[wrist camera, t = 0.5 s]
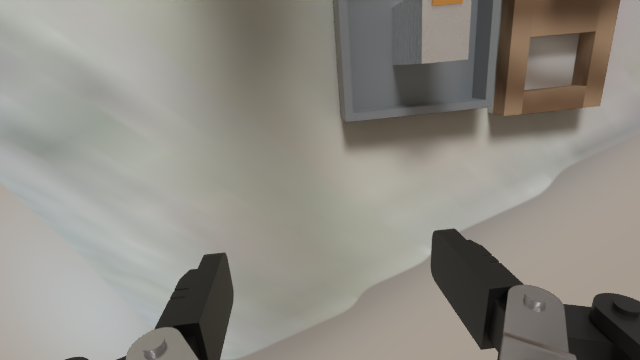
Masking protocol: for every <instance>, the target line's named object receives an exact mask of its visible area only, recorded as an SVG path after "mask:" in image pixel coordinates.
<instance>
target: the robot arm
mask: <svg viewBox="0 0 640 360" xmlns="http://www.w3.org/2000/svg"><path fill="white" fill-rule="evenodd" d="M431 272H432V276H433V278H434V280H435V282H436V283H437V285H438V287H439V288H440V290H441V291H442V292H443V294H444V295H445V297H446V298H447V300H448V301H449V303H450V304H451V306H452V307H453V309H454V310H455V312H456V313H457V315H458V316H459V317H460V319H461V321H462V322H463V324H464V325H465V327H466V328H467V330H468V331H469V332H470V334H471V335H472V337H473V338H474V340H475V341H476V343H477V344H478V346H479V347H480V349H481V350H482V349H490V348H496V350H497V351H498V352H499V353H498V359H497V360H640V302H639V301H637V300H635V299H632V298H630V297H627V296H623V295H619V294H614V293H602V294H598V295H596V296H595V297H594V300H593V303H592V307H585V306H576V305H567V304H563V303H562V302H561V300H560V299H559V298H557V297H556V296H555V295H554V294H552V293H550V292H549V291H547V290H545V289H542V288H539V287H536V286H531V285H524V284H523V283H521V282H520V281H519V280H518V279H517V278H516V277H515V276H514V275H513V274H512V273H511V272H510V271H509V270H507V268H505V267H504V266H503V265H502V264H501V263H499V261H498V260H497V259H496V258H495V257H494V256H492V255H491V254H490V253H489V252H488V251H487V250H486V249H485V248H484V247H483V246H481V245H479V244H477V243H475V242H473V241H471V240H466V239H465V238H464V237H463V236H462V235H461V234H460V233H459V232H458V231H457V230H456V229H446V230H437V231H434V232H433V236H432V251H431ZM232 305H233V285H232V280H231V275H230V269H229V264H228V259H227V255H226V253H216V254H206V255H204V256H203V258H202V260H201V263H200V265H199V267H198V269H192V270H189V271H188V272H187V273H186V274H185V275H184V276H183V277H182V278H181V279H180V280H179V282H178V284H177V286H176V288H175V291H174V292H173V294H172V296H171V298H170V300H169V302H168V304H167V306H166V308H165V309H164V311H163V313H162V315H161V317H160V319H159V321H158V323H157V325H156V327H155V329H154V330H152V331H150V332H148V333H146V334H145V335H143V336H142V337H140V338H139V339H138V340H136V341H135V342H134V343H133V344H132V346H131V347H130V348H129V350H128V352H127V355H126V356H125V357H122V358H120V359H117V360H220V357H221V352H222V348H223V344H224V339H225V335H226V331H227V327H228V322H229V318H230V314H231V309H232ZM66 360H88V359H87V358H84V357H73V358H69V359H66Z"/></svg>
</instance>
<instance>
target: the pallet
mask: <svg viewBox="0 0 640 360" xmlns="http://www.w3.org/2000/svg"><path fill="white" fill-rule="evenodd" d="M619 4H620V0H501V10H500V22H499V34H498V46H497V58H496V69H495V81H494V93H493V105H492V107H488V113H492V114H496V115H501V116H509V115H519V114H528V113H538V112H547V111H557V110H566V109H576V108H585V107H595V106H600V103H601V98H602V92H603V87H604V82H605V77H606V72H607V66H608V61H609V56H610V51H611V45H612V40H613V35H614V30H615V25H616V19H617V14H618V9H619Z"/></svg>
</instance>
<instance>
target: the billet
mask: <svg viewBox="0 0 640 360" xmlns="http://www.w3.org/2000/svg"><path fill="white" fill-rule="evenodd" d="M471 1H472V0H403V1H402V2H400V3H398V4H397V5H395V6H394V7H392V55H393V65H408V64H425V63H435V62H446V61H456V60H467V59H468V53H469V36H470V18H471Z"/></svg>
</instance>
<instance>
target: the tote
mask: <svg viewBox="0 0 640 360" xmlns="http://www.w3.org/2000/svg"><path fill="white" fill-rule="evenodd" d="M402 1H403V0H333V9H334V23H335V38H336V53H337V68H338V83H339V98H340V113H341V118H342V119H343V120H344V121H345V122H352V121H361V120H371V119H381V118H390V117H400V116H410V115H419V114H429V113H438V112H448V111H458V110H467V109H477V108H487V107H492V105H493V93H494V81H495V69H496V58H497V46H498V34H499V22H500V10H501V0H472V1H471V18H470V36H469V53H468V59H467V60H456V61H446V62H435V63H425V64H408V65H393V55H392V7H394V6H395V5H397V4H398V3H400V2H402Z"/></svg>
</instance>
